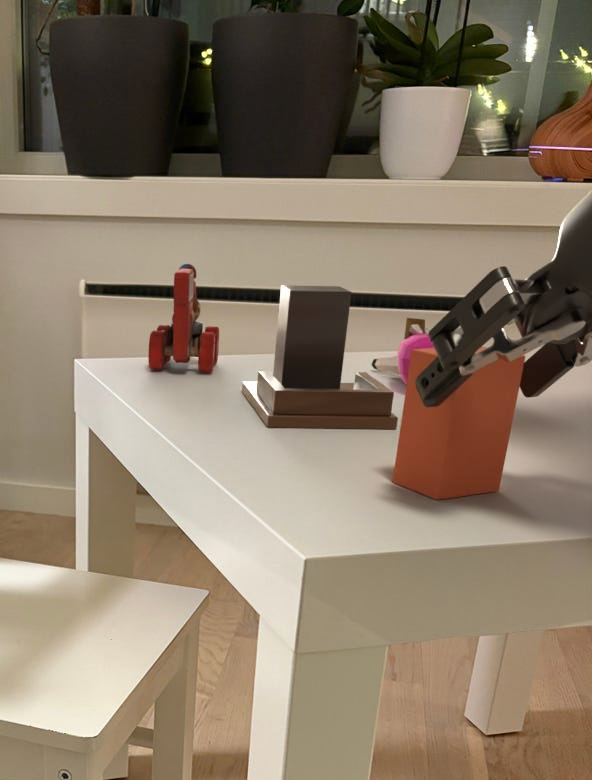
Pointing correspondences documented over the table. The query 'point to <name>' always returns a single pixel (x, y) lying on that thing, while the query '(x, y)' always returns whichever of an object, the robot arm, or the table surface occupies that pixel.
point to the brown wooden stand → (316, 369)
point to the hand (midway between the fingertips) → (474, 390)
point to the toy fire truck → (184, 329)
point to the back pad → (457, 431)
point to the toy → (406, 349)
